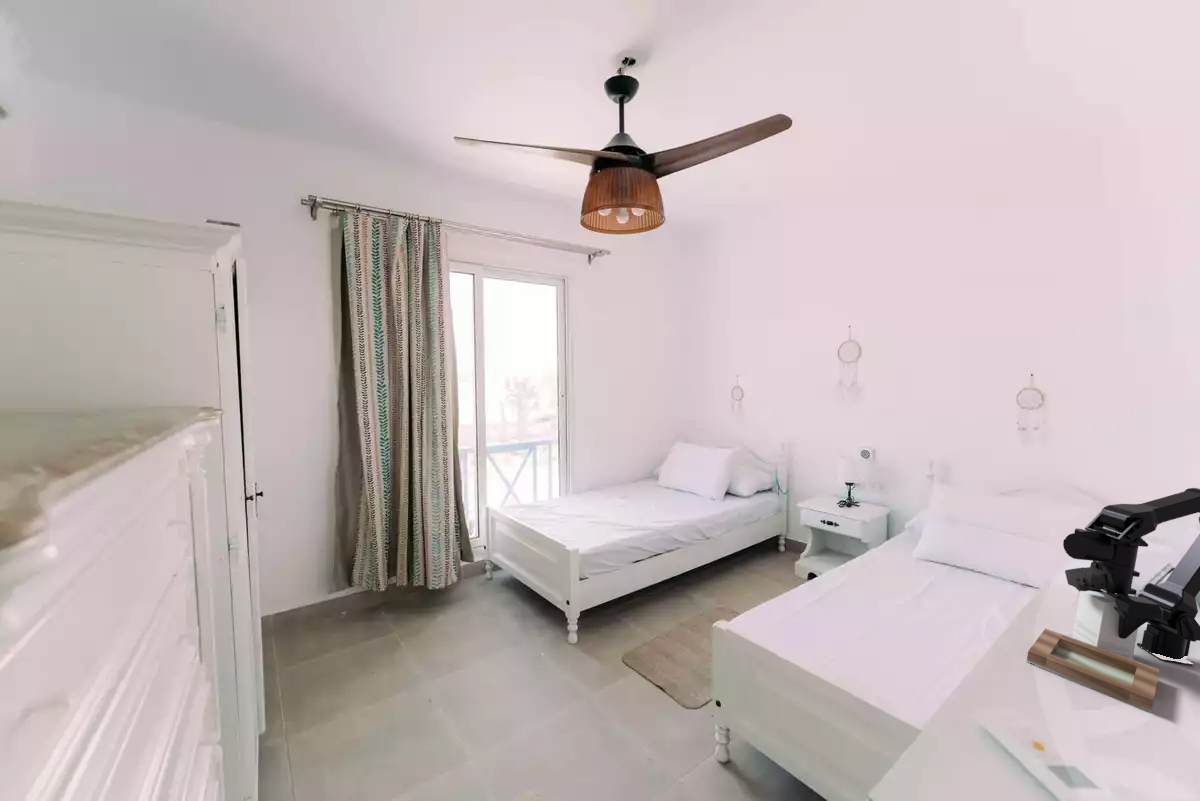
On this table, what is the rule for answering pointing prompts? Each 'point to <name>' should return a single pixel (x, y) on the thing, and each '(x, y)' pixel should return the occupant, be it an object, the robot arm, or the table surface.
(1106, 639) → the supplement box
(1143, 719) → the table surface
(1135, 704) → the pocket board
